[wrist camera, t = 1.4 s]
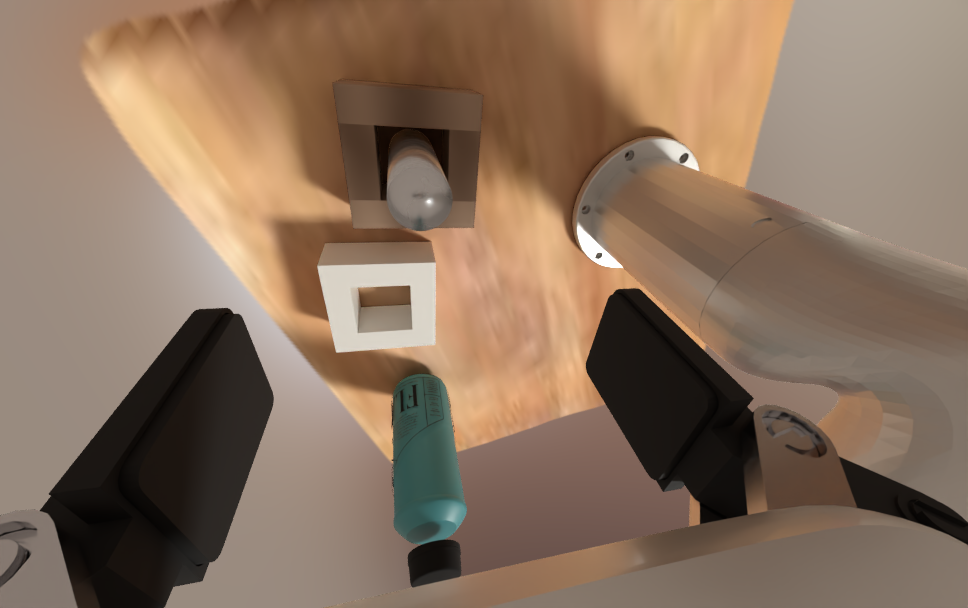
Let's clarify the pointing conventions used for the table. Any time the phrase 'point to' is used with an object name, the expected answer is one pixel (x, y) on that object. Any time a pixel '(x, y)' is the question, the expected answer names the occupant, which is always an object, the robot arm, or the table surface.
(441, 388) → the beverage bottle
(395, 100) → the socket block
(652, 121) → the table surface
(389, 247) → the block
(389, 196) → the steel peg
